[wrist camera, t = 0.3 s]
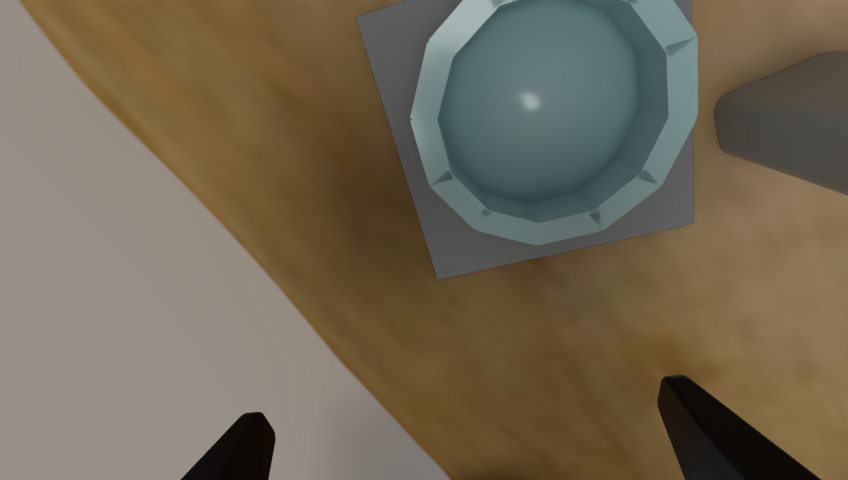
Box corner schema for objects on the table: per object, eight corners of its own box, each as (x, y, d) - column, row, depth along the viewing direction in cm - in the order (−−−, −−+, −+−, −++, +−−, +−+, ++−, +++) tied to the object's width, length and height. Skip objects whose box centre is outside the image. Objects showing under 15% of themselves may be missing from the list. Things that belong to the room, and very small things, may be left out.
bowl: (662, 187, 20) (698, 209, 17) (451, 237, 22) (451, 264, 19) (651, -71, 16) (697, -99, 13) (389, 18, 18) (378, 11, 15)
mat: (689, 221, 21) (693, 223, 21) (437, 276, 24) (437, 279, 23) (684, -94, 16) (690, -98, 15) (357, 18, 18) (356, 17, 18)
